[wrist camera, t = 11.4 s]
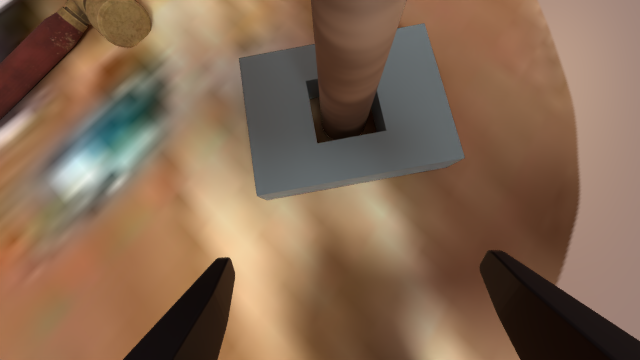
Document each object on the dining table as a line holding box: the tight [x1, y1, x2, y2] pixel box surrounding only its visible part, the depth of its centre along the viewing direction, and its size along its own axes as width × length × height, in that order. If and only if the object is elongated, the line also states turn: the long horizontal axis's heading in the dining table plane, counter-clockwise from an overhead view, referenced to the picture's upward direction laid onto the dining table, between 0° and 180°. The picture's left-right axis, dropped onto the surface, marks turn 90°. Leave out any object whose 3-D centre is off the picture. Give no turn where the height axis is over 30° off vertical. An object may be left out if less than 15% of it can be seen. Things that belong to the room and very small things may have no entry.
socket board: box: [239, 24, 465, 200], centre depth 22 cm, size 12×16×3 cm
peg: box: [311, 0, 407, 140], centre depth 16 cm, size 4×4×15 cm
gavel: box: [0, 0, 151, 120], centre depth 24 cm, size 21×5×10 cm
